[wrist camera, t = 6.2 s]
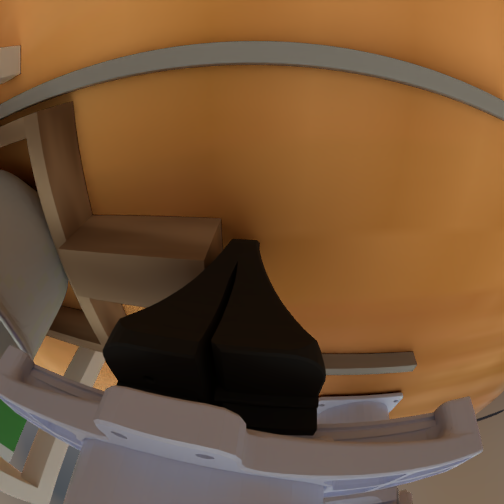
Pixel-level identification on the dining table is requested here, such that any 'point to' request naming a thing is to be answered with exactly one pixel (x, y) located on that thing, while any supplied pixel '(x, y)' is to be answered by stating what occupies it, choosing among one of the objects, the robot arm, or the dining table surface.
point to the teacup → (26, 268)
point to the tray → (105, 236)
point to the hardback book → (9, 430)
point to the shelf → (200, 55)
